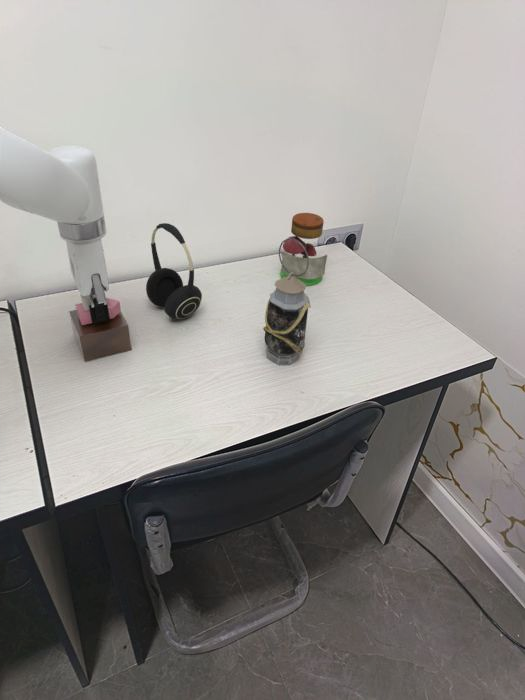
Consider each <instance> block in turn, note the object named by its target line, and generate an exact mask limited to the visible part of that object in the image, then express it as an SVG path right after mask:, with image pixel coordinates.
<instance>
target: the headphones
mask: <svg viewBox="0 0 525 700" xmlns="http://www.w3.org/2000/svg"><path fill="white" fill-rule="evenodd" d="M160 229H163V230H165V231H166V232H168V233H169V234H171V235H172V236H173V237H174V238H175V239H176V240H177V241H178V242H179V244H180V245H181V247H182V248H183V249H184V251H185V255H186V257H187V261H188V264H189V270H188V271H189V272H188V280H187V284H185V285H184V283H183V282H184V281H183V279H182V277H181V276H180V274H179V273H178V272H177V271H176V270H174V269H172V268H167V267H162V266H161V262H160V257H159V254H158V251H157V244H156V241H155V239H156V234H157V232H158V230H160ZM150 241H151V243H150V247H151V255H152V261H153V264H154V270H155V271H153V272H152V273H151V274H150V275H149V277H148V279H147V281H146V285H145V293H146V295H147V298H148V300H149V301H150V302H151V303H152V304H153V305H154V306H156V307H159V308H163V309H164V313H165V314H166V315H167V316H168V317H169V318H170V319H172V320H183V319H187V318H189V317H190V316H192V315H193V314H195V313H196V312H197V310H198V309H199V308H200V306H201V303H202V299H203V294H202V291H201V289H200V288H199V287H198V286H197V285H194V282H195V269H194V263H193V259H192V256H191V253H190V250H189V248H188V246H187V244H186V241H185V239H184V236H183V235H182V232H180V230H179V229H178V228H177V227H176V226H175V225H173V224H171V223H167V222H165V223H164V222H162V223H159V224H158V225H156V226H155V228H154V230H153V231H152V234H151V240H150Z"/></svg>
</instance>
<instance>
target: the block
mask: <svg viewBox="0 0 525 700" xmlns="http://www.w3.org/2000/svg"><path fill="white" fill-rule="evenodd" d="M68 313H69V318H70V323H71V327H72V331H73V336H74V338H75V342H76V343H77V346H78V349H79V351H80V354H81V356H82V359H83V361H84V363H86V362H90V361H94V360H98V359H102V358H105V357H111V356H113V355H117V354H118V355H119V354H122V353H126V352H129V351H132V342H131V336H130V326H129V324H128V322H127V320H126V318H125V317H124V315H123V313H122V310H121V311H120V312H119V313H118V314H117V315H116V316H115V317H114V318H112V319H110V320H109V321H107V322H103V323H99V324H93V323H90V324H86V325H82V324H81V322H80V319H79V317H78V315H77V310H76V309H73V310H69V311H68Z"/></svg>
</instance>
